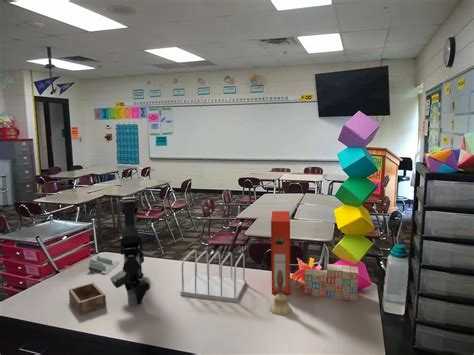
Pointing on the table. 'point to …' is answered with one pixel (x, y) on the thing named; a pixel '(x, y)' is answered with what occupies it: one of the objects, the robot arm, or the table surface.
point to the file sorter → (214, 282)
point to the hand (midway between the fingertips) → (134, 300)
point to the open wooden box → (87, 298)
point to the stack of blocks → (332, 282)
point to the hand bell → (280, 299)
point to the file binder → (280, 249)
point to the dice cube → (132, 299)
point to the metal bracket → (102, 264)
